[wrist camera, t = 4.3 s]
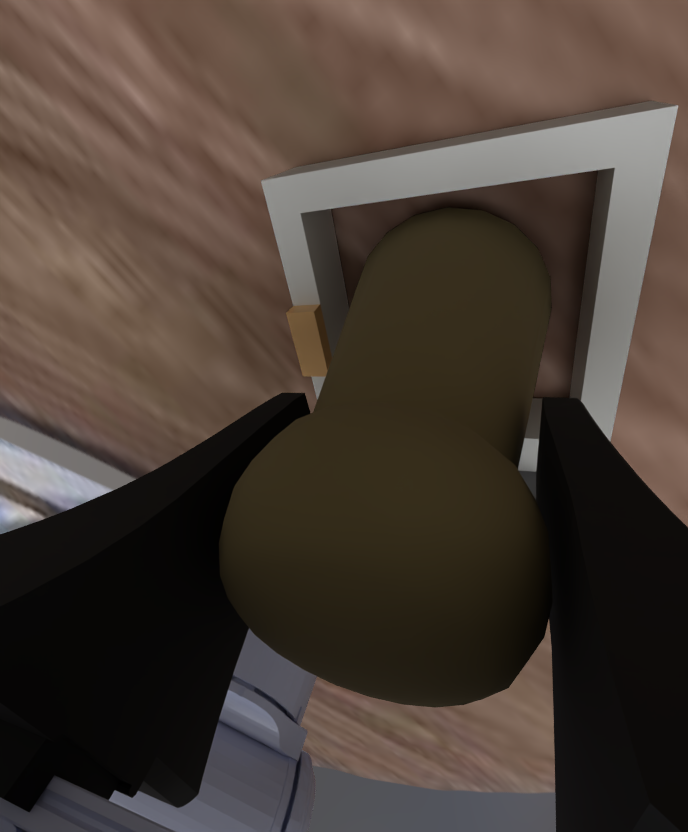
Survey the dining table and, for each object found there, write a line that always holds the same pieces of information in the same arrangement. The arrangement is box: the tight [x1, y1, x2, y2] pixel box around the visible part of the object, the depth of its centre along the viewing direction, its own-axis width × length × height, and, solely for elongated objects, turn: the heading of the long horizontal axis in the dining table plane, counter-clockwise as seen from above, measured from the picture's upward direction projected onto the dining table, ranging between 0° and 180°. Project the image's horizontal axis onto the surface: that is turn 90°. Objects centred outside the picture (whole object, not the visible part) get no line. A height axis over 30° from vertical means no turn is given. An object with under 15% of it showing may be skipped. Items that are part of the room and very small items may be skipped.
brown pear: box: [219, 207, 553, 707], centre depth 10 cm, size 6×6×11 cm
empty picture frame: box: [261, 101, 678, 499], centre depth 15 cm, size 10×18×6 cm, turn 11°
